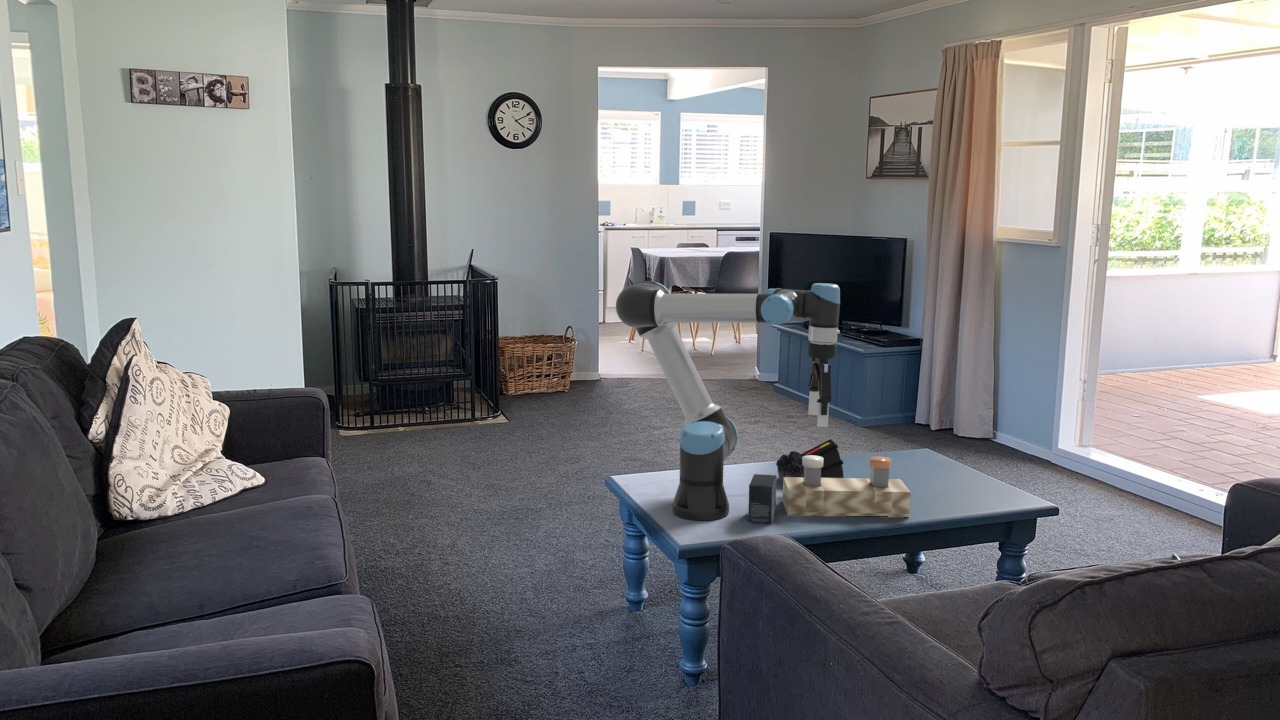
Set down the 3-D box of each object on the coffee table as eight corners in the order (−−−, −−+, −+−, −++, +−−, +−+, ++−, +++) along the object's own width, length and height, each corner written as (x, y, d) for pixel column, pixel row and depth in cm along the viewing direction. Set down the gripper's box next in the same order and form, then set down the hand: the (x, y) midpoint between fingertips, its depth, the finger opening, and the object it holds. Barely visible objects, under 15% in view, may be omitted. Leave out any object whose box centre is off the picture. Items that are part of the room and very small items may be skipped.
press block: (787, 515, 257) (788, 490, 256) (782, 501, 269) (783, 477, 268) (909, 517, 256) (910, 492, 255) (898, 503, 268) (900, 479, 267)
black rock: (821, 477, 295) (819, 445, 294) (823, 486, 282) (821, 453, 281) (777, 479, 297) (775, 447, 296) (777, 488, 284) (775, 454, 283)
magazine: (855, 486, 278) (835, 441, 275) (814, 507, 277) (794, 462, 274) (850, 482, 282) (831, 438, 278) (810, 503, 281) (790, 458, 277)
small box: (752, 510, 261) (753, 472, 260) (776, 512, 260) (777, 474, 258) (746, 523, 251) (748, 484, 249) (772, 525, 250) (773, 486, 248)
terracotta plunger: (870, 488, 259) (872, 461, 257) (866, 482, 264) (867, 456, 263) (891, 489, 258) (893, 462, 257) (887, 483, 264) (888, 456, 263)
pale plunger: (802, 487, 259) (803, 460, 258) (800, 481, 265) (801, 455, 263) (823, 488, 259) (825, 460, 258) (820, 482, 264) (821, 455, 263)
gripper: (846, 350, 244) (840, 432, 248) (828, 335, 268) (823, 410, 272) (816, 349, 244) (811, 431, 248) (800, 334, 268) (796, 409, 272)
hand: (817, 420), depth 260 cm, fingers open, 13 cm apart
